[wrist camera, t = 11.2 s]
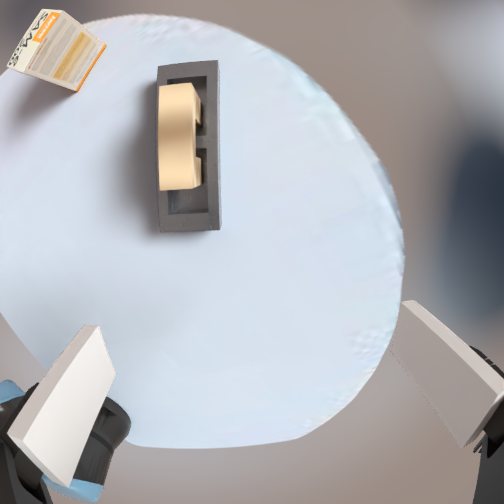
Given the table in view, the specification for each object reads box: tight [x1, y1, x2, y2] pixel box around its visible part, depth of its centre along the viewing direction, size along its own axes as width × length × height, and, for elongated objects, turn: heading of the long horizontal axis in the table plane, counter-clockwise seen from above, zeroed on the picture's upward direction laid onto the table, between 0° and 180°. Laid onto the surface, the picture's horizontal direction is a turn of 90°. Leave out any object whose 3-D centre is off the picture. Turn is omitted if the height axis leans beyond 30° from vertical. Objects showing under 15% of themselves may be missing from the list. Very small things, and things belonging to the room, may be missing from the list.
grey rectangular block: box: [156, 60, 222, 232], centre depth 30 cm, size 20×7×4 cm, turn 1°
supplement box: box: [7, 9, 106, 92], centre depth 20 cm, size 8×5×13 cm, turn 148°
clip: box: [158, 83, 203, 191], centre depth 27 cm, size 10×3×9 cm, turn 1°
